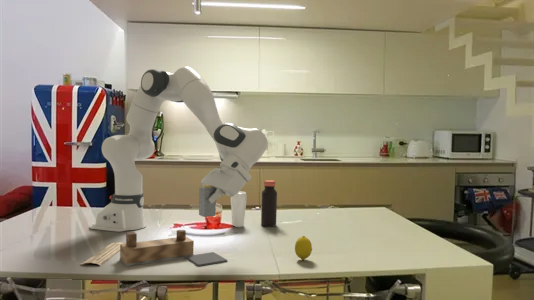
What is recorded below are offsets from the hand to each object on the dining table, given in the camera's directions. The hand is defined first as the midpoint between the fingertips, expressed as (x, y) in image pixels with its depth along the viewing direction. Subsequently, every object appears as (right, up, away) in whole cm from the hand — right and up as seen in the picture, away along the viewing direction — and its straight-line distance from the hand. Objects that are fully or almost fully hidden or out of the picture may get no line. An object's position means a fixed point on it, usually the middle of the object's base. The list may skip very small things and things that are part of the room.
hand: (205, 200), depth 136 cm
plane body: (-16, -19, +2) cm, 25 cm away
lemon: (+31, -20, +4) cm, 38 cm away
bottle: (+20, -18, +54) cm, 60 cm away
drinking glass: (+7, -18, +51) cm, 54 cm away
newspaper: (-34, -19, +4) cm, 40 cm away
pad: (0, -19, +1) cm, 19 cm away
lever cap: (0, -5, +1) cm, 5 cm away
